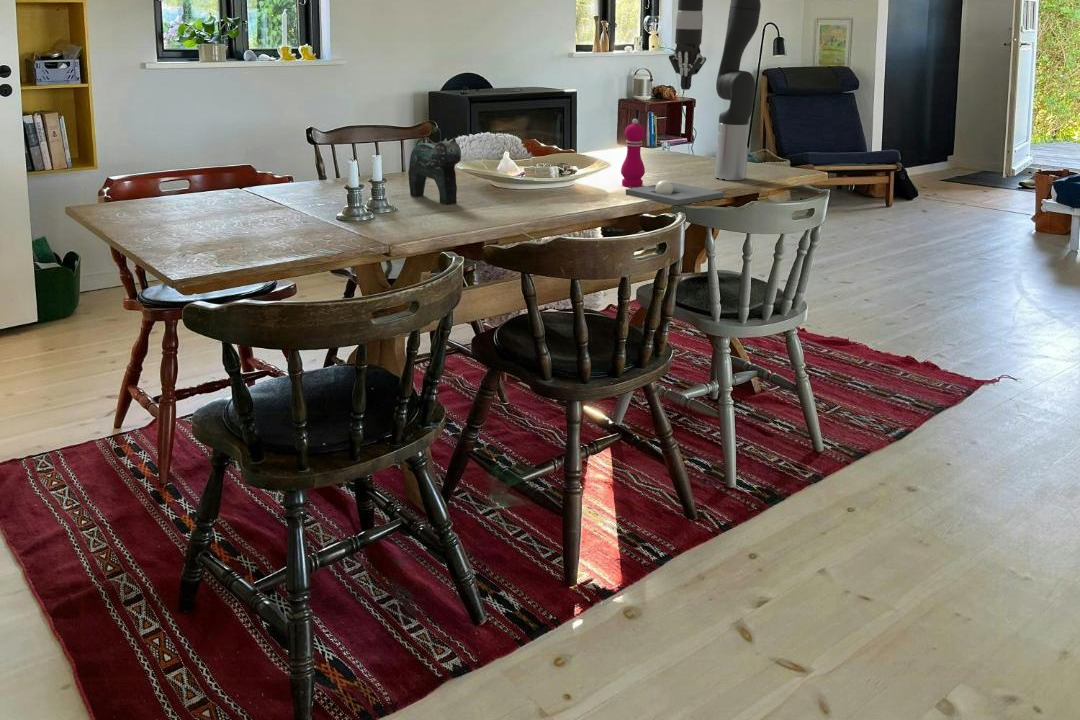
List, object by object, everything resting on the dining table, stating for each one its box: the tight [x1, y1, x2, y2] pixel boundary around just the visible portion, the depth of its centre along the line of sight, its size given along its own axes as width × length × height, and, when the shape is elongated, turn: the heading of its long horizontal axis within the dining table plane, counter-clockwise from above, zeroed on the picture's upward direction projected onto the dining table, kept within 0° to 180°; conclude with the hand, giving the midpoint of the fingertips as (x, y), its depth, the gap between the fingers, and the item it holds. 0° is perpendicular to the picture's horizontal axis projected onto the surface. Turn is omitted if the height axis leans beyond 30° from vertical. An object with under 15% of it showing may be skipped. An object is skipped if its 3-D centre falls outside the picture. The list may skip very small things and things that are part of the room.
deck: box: [625, 181, 725, 206], centre depth 307 cm, size 20×20×2 cm
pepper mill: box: [620, 118, 646, 188], centre depth 318 cm, size 7×7×20 cm
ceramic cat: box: [407, 127, 462, 206], centre depth 292 cm, size 20×6×20 cm, turn 41°
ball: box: [655, 179, 673, 195], centre depth 303 cm, size 5×5×5 cm
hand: (685, 89), depth 310 cm, fingers closed
